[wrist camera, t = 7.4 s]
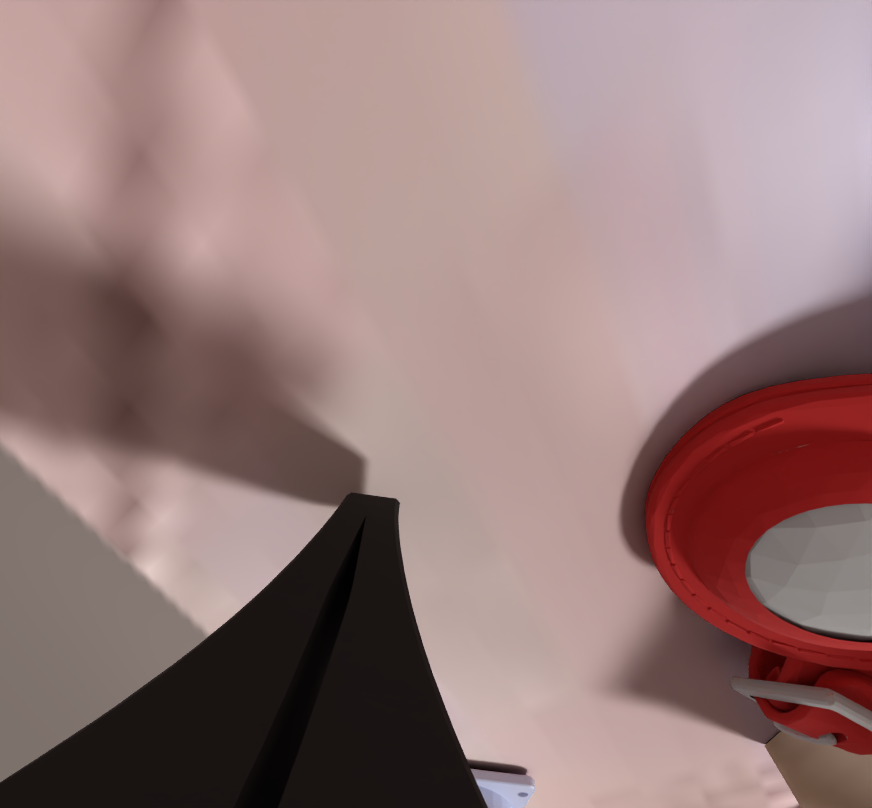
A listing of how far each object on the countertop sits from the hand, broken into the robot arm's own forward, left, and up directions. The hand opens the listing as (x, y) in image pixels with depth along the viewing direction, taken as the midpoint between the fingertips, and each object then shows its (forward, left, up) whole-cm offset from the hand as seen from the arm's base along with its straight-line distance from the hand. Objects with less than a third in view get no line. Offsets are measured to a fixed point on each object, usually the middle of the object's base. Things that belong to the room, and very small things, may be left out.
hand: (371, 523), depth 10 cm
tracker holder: (+1, -12, -2) cm, 12 cm away
